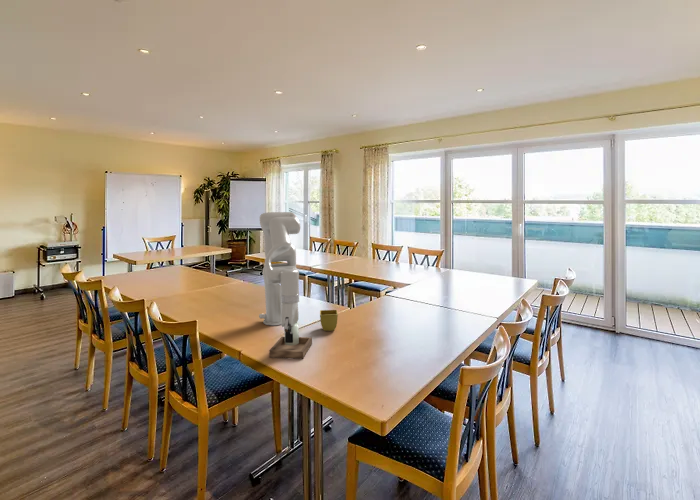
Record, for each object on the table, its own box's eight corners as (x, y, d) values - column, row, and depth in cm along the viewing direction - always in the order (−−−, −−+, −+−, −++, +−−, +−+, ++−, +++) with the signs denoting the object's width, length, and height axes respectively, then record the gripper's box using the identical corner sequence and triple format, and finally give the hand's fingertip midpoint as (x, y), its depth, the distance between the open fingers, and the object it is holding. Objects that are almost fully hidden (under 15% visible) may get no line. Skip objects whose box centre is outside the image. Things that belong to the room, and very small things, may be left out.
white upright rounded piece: (282, 345, 148) (282, 326, 147) (287, 340, 154) (286, 322, 153) (296, 345, 147) (296, 327, 146) (300, 340, 153) (300, 322, 152)
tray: (269, 357, 144) (269, 350, 143) (281, 343, 160) (281, 336, 159) (303, 359, 142) (302, 351, 142) (312, 344, 158) (311, 337, 158)
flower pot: (320, 327, 181) (319, 309, 180) (337, 326, 182) (336, 309, 181) (320, 332, 172) (319, 315, 171) (338, 332, 173) (337, 314, 172)
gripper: (287, 293, 157) (289, 332, 159) (274, 303, 140) (276, 347, 142) (304, 293, 156) (305, 333, 158) (293, 303, 139) (294, 347, 141)
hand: (291, 339), depth 150 cm, fingers closed on white upright rounded piece, 6 cm apart
